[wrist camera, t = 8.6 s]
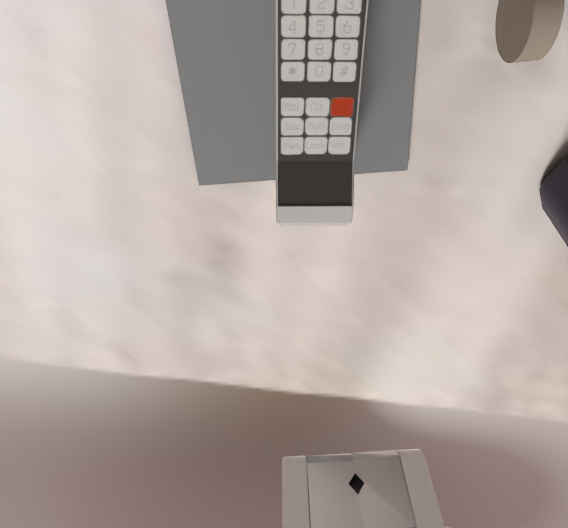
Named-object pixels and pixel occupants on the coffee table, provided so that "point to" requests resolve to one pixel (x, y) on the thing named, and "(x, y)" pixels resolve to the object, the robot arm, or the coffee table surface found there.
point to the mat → (262, 86)
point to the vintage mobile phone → (317, 108)
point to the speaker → (557, 198)
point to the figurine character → (527, 28)
